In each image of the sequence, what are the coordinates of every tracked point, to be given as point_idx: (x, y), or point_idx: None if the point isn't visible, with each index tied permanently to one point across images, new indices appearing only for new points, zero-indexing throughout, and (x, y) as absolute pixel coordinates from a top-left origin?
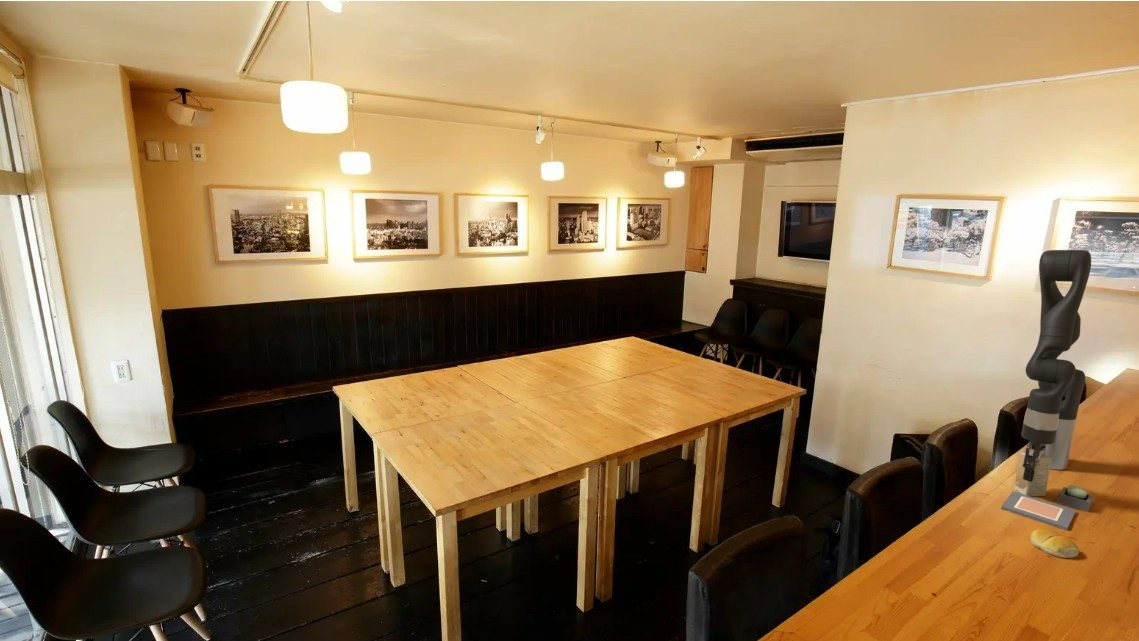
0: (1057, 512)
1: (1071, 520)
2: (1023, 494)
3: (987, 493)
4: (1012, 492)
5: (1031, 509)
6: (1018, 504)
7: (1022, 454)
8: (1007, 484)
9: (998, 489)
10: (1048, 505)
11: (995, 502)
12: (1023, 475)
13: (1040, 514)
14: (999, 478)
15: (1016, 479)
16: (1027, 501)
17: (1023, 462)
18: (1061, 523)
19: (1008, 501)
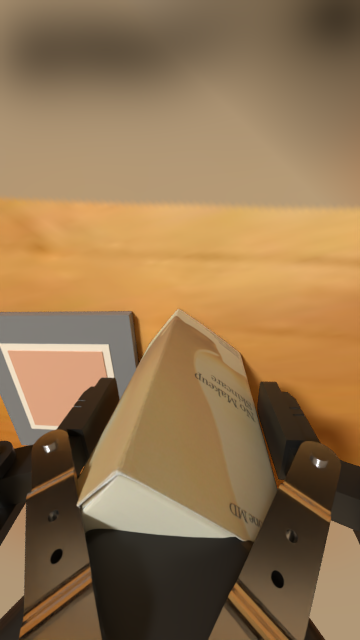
0: None
1: None
2: (132, 345)
3: (47, 246)
4: (114, 317)
5: (33, 380)
6: (31, 349)
7: (96, 484)
8: (210, 278)
9: (125, 266)
10: None
11: (3, 288)
12: (94, 388)
13: (26, 400)
14: (256, 237)
15: (167, 329)
16: (79, 365)
17: (114, 428)
18: (29, 435)
19: (23, 323)
